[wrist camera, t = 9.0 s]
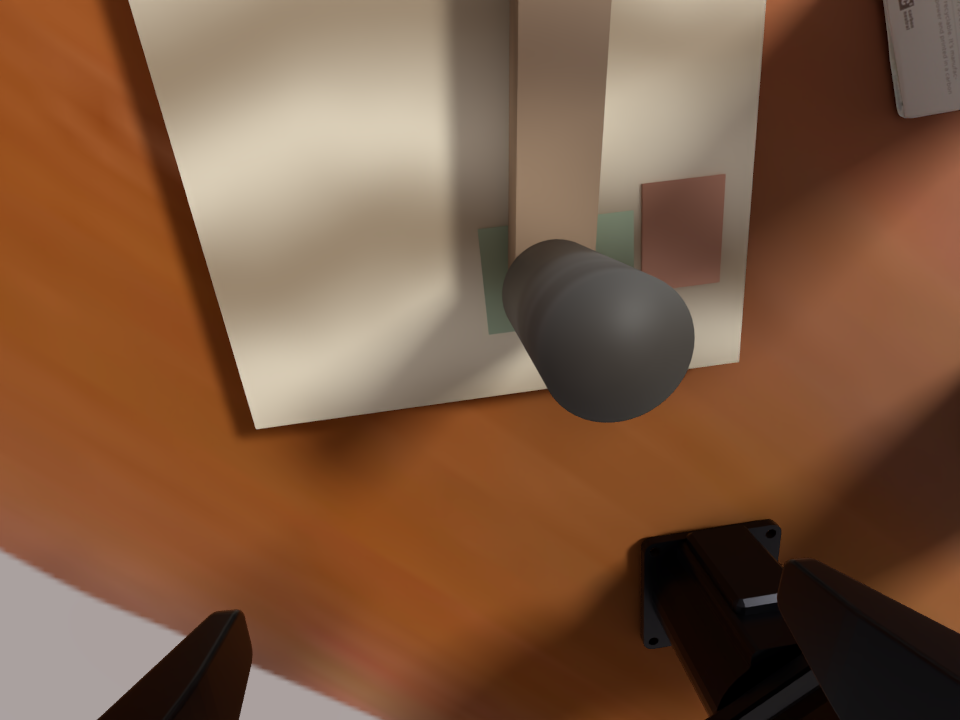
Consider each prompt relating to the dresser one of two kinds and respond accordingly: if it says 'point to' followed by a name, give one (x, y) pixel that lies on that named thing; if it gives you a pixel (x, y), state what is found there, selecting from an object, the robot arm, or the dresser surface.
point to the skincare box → (924, 55)
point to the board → (434, 184)
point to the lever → (577, 229)
